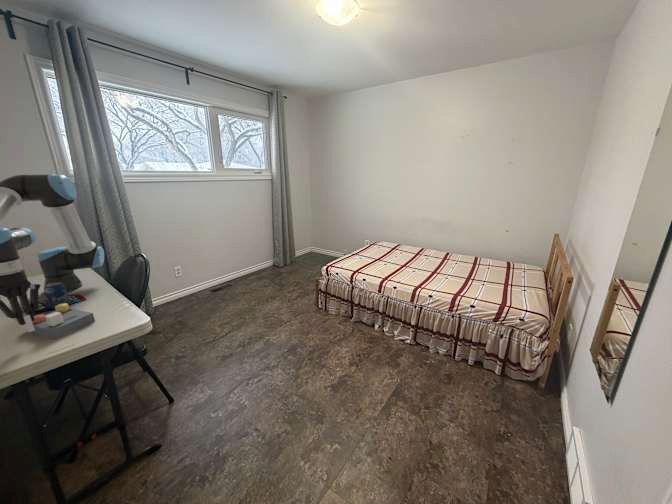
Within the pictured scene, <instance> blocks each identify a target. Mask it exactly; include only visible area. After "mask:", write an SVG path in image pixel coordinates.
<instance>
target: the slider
mask: <svg viewBox="0 0 672 504" xmlns="http://www.w3.org/2000/svg"><path fill="white" fill-rule="evenodd" d="M45 318H46V321H47V323H48V325H50V326H55V325H58V324H60V323H63V322H64V319H63V316H62V313H59V312H55V313H52V314H49V315H47V316H45Z"/></svg>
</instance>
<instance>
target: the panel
mask: <svg viewBox="0 0 672 504" xmlns="http://www.w3.org/2000/svg"><path fill="white" fill-rule="evenodd" d="M69 309H70V310H69V311H68V312H65V313H62V316H63V319H64V322H63V323H60V324H58V325H55V326H50V325H48V323H47V321H43V322H41V323H38V324H33V326H34V329H35V330H34V331H32V332H30V333H32V334H35V335H39V336H42V337H46V338H49V339H52V340H56V339H58V338H61V337H63V336H65V335H68V334H70V333H73V332H74V331H77V330H79V329H82V328H84V327H85V326H87V325H89V324H93V323H95V321H96V319H95V316H94V313H93V312H90V311H85V310H81V309H77V308H72V307H69ZM55 312H56V310H53V311H51V312H49V313H46V314H45V316H47V315H49V314H52V313H55Z"/></svg>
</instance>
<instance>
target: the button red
mask: <svg viewBox="0 0 672 504" xmlns="http://www.w3.org/2000/svg"><path fill="white" fill-rule="evenodd" d="M45 315H46V314H44V313H43V314H42V313H41V314H37V315H33V316H34V319H35V320H34V321H32V323H33V324H38V323H41V322H43V321H46V318H45Z"/></svg>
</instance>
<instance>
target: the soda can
mask: <svg viewBox="0 0 672 504" xmlns="http://www.w3.org/2000/svg"><path fill="white" fill-rule="evenodd" d="M43 291H45V292H44V294H45V296H46V299H47V302H48V305H49V308H51V309H52V310H56V309H55V306H56V305H59V304H63V303H68V306H69V305H70V303H71V300H70V297H69V294H68V292H67V291H66V288H65V285H64V284H63V283H62V282H53V283H49V284H46V285H45V288H44V287H43Z"/></svg>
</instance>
